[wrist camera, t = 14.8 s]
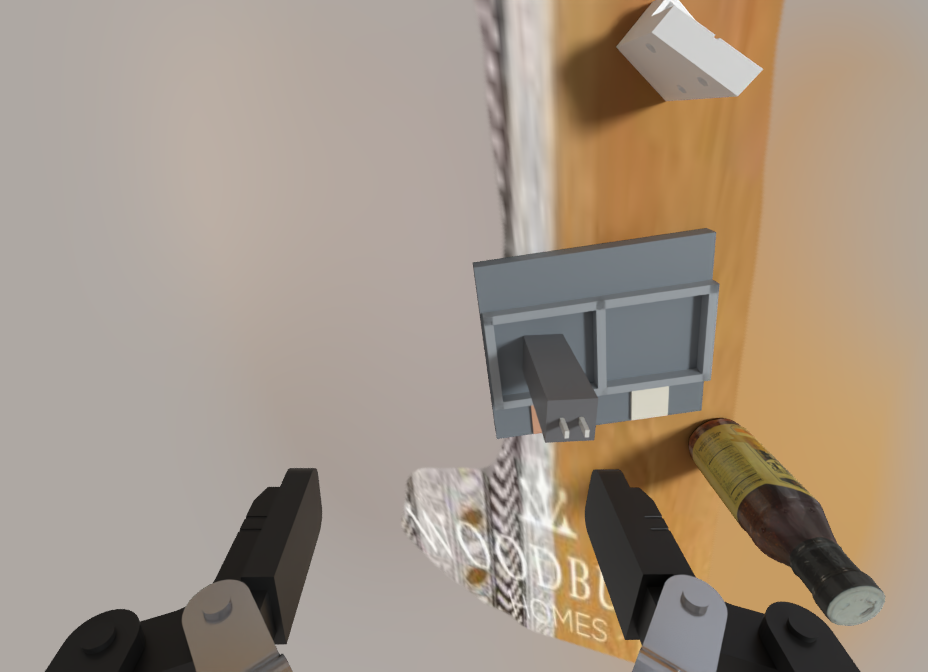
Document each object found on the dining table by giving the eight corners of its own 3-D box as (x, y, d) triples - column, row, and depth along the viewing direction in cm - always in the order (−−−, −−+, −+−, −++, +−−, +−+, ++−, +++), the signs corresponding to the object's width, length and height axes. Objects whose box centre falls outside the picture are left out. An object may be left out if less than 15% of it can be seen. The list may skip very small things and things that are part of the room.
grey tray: (472, 262, 42) (474, 271, 40) (706, 228, 42) (723, 235, 39) (495, 429, 50) (498, 446, 47) (693, 401, 49) (707, 417, 47)
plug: (523, 335, 43) (552, 413, 32) (562, 333, 44) (605, 410, 32) (522, 370, 45) (549, 456, 34) (560, 368, 45) (600, 454, 34)
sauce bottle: (750, 445, 52) (914, 620, 34) (695, 470, 53) (826, 652, 35) (731, 402, 49) (897, 566, 31) (674, 429, 51) (804, 603, 33)
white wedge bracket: (716, 140, 36) (737, 96, 28) (617, 64, 38) (610, 2, 30) (755, 99, 35) (789, 40, 27) (651, 23, 37) (653, -53, 29)
